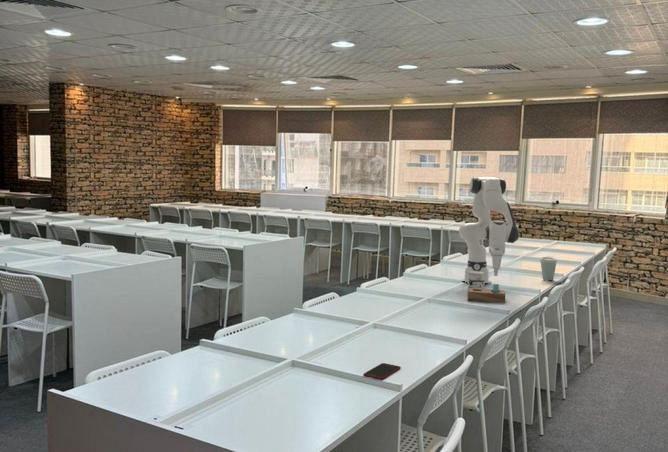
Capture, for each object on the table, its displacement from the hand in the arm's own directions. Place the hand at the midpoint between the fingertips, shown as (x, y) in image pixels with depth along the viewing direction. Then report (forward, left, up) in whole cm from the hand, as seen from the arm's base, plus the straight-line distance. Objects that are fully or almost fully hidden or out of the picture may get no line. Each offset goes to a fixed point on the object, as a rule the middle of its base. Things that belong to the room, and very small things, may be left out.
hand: (495, 274), depth 317 cm
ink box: (-22, -11, -15) cm, 28 cm away
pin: (0, 0, -14) cm, 14 cm away
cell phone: (+133, -40, -15) cm, 140 cm away
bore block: (0, -5, -15) cm, 15 cm away
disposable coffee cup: (-75, +35, -15) cm, 84 cm away
